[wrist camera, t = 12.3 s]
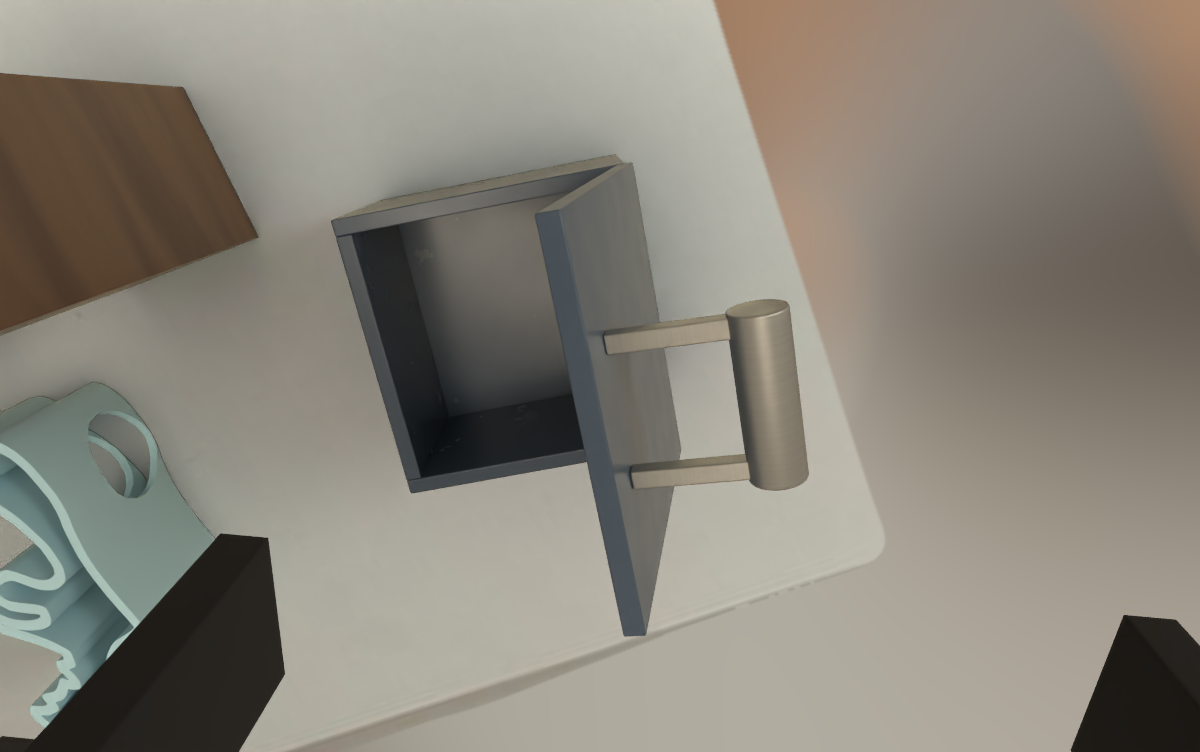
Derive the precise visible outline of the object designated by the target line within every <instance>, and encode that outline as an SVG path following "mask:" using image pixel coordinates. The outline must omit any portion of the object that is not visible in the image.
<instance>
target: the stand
mask: <svg viewBox="0 0 1200 752" xmlns="http://www.w3.org/2000/svg"><path fill="white" fill-rule="evenodd" d="M256 238H258V236H257V234H256V232H255V230H254V228H253V226H252V224H251V222H250V220H249V218H248V216H247V214H246V212H245V210H244V208H243V206H242V204H241V202H240V200H239V198H238V196H237V194H236V192H235V190H234V188H233V186H232V184H231V182H230V180H229V178H228V176H227V174H226V172H225V170H224V168H223V166H222V164H221V162H220V160H219V158H218V156H217V154H216V152H215V150H214V148H213V146H212V144H211V142H210V140H209V138H208V136H207V134H206V132H205V130H204V128H203V126H202V124H201V122H200V120H199V118H198V116H197V114H196V112H195V110H194V108H193V106H192V104H191V102H190V100H189V98H188V96H187V94H186V92H185V90H184V88H183V87H173V86H160V85H147V84H134V83H121V82H108V81H95V80H82V79H69V78H56V77H43V76H30V75H17V74H4V73H0V335H3V334H5V333H8V332H11V331H13V330H16V329H19V328H22V327H24V326H27V325H30V324H32V323H35V322H38V321H40V320H43V319H46V318H49V317H51V316H54V315H57V314H59V313H62V312H65V311H67V310H70V309H73V308H75V307H78V306H81V305H84V304H86V303H89V302H92V301H94V300H97V299H100V298H102V297H105V296H108V295H111V294H113V293H116V292H119V291H121V290H124V289H127V288H129V287H132V286H134V285H137V284H140V283H142V282H145V281H147V280H150V279H153V278H155V277H158V276H160V275H163V274H165V273H168V272H171V271H173V270H176V269H178V268H181V267H183V266H186V265H189V264H191V263H194V262H196V261H199V260H201V259H204V258H207V257H209V256H212V255H214V254H217V253H219V252H222V251H225V250H227V249H230V248H232V247H235V246H238V245H240V244H243V243H245V242H248V241H250V240H253V239H256Z"/></svg>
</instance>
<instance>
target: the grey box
mask: <svg viewBox="0 0 1200 752" xmlns="http://www.w3.org/2000/svg"><path fill="white" fill-rule="evenodd" d="M620 164H623V162H622V161H621V160H620V159H619V158H618V156H617V155H616V154H614V155H609V156H604V157H599V158H594V159H589V160H584V161H578V162H573V163H568V164H563V165H558V166H553V167H548V168H543V169H538V170H533V171H528V172H522V173H517V174H512V175H507V176H502V177H497V178H492V179H487V180H482V181H477V182H471V183H466V184H461V185H456V186H451V187H446V188H441V189H436V190H431V191H426V192H420V193H415V194H410V195H405V196H400V197H395V198H390V199H385V200H381V201H379V202H376V203H374V204H371V205H369V206H366V207H364V208H361V209H359V210H356V211H354V212H351V213H349V214H346V215H344V216H341V217H339V218H336V219H334V220H332V221H331V223H332V226H333V229H334V233H335V236H336V239H337V243H338V246H339V250H340V253H341V257H342V260H343V263H344V267H345V270H346V274H347V277H348V280H349V284H350V287H351V291H352V294H353V298H354V301H355V304H356V308H357V311H358V315H359V318H360V322H361V325H362V328H363V332H364V335H365V339H366V342H367V345H368V349H369V352H370V356H371V359H372V363H373V366H374V369H375V373H376V376H377V380H378V383H379V387H380V390H381V393H382V397H383V400H384V404H385V407H386V410H387V414H388V417H389V421H390V424H391V428H392V431H393V434H394V438H395V441H396V445H397V448H398V452H399V455H400V458H401V462H402V465H403V469H404V472H405V475H406V479H407V482H408V486H409V489H410V492H411V493H417V492H423V491H428V490H434V489H439V488H445V487H450V486H456V485H462V484H467V483H473V482H478V481H484V480H489V479H495V478H501V477H506V476H512V475H517V474H523V473H528V472H534V471H539V470H545V469H551V468H556V467H562V466H567V465H573V464H578V463H584V462H587V460H586V455H585V450H584V445H583V441H582V436H581V431H580V427H579V422H578V417H577V412H576V408H575V403H574V398H573V393H572V389H571V384H570V379H569V375H568V370H567V365H566V360H565V356H564V351H563V346H562V341H561V337H560V332H559V327H558V323H557V318H556V313H555V308H554V304H553V299H552V294H551V289H550V285H549V280H548V275H547V271H546V266H545V261H544V256H543V252H542V247H541V242H540V237H539V233H538V228H537V223H536V219H535V214H536V213H537V212H539V211H541V210H542V209H544V208H546V207H547V206H549V205H551V204H552V203H554V202H556V201H558V200H559V199H561V198H563V197H564V196H566V195H568V194H569V193H571V192H573V191H574V190H576V189H578V188H579V187H581V186H583V185H584V184H586V183H588V182H589V181H591V180H593V179H594V178H596V177H598V176H599V175H601V174H603V173H605V172H606V171H608V170H610V169H611V168H613V167H615V166H616V165H620Z"/></svg>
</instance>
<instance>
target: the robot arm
mask: <svg viewBox="0 0 1200 752" xmlns="http://www.w3.org/2000/svg"><path fill="white" fill-rule="evenodd" d="M284 675H285V671H284V663H283V655H282V646H281V638H280V630H279V622H278V614H277V606H276V598H275V590H274V582H273V574H272V565H271V557H270V549H269V541H268V538H263V537H252V536H241V535H230V534H220V535H219V536H218V537H217V538H216V539H215V540H214V541H213V542H212V543H211V545H210V546H209V547H208V548H207V549H206V550H205V551H204V552H203V553H202V555H201V556H200V557H199V558H198V559H197V560H196V561H195V562H194V563H193V565H192V566H191V567H190V568H189V569H188V570H187V571H186V572H185V573H184V575H183V576H182V577H181V578H180V579H179V580H178V581H177V582H176V583H175V584H174V586H173V587H172V588H171V589H170V590H169V591H168V592H167V593H166V594H165V596H164V597H163V598H162V599H161V600H160V601H159V602H158V603H157V604H156V606H155V607H154V608H153V609H152V610H151V611H150V612H149V613H148V614H147V616H146V617H145V618H144V619H143V620H142V621H141V622H140V623H139V624H138V626H137V627H136V628H135V629H134V630H133V631H132V632H131V633H130V634H129V636H128V637H127V638H126V639H125V640H124V641H123V642H122V643H121V644H120V646H119V647H118V648H117V649H116V650H115V651H114V652H113V653H112V654H111V655H110V657H109V658H108V659H107V660H106V661H105V662H104V663H103V664H102V665H101V667H100V668H99V669H98V670H97V671H96V672H95V673H94V674H93V675H92V677H91V678H90V679H89V680H88V681H87V682H86V683H85V684H84V685H83V687H82V688H81V689H80V690H79V691H78V692H77V693H76V694H75V695H74V697H73V698H72V699H71V700H70V701H69V702H68V703H67V704H66V705H65V707H64V708H63V709H62V710H61V711H60V712H59V713H58V714H57V715H56V716H55V718H54V719H53V720H52V721H51V722H50V723H49V724H48V725H47V726H46V728H45V729H44V730H43V731H42V732H41V733H40V734H39V735H38V736H37V738H36V739H25V738H15V737H5V736H2V737H1V738H0V752H239V750H240V749H241V747H242V745H243V744H244V742H245V740H246V739H247V737H248V735H249V734H250V732H251V730H252V729H253V727H254V725H255V723H256V722H257V720H258V718H259V717H260V715H261V713H262V712H263V710H264V708H265V707H266V705H267V703H268V702H269V700H270V698H271V697H272V695H273V693H274V692H275V690H276V688H277V687H278V685H279V683H280V682H281V680H282V678H283V676H284ZM1071 752H1200V646H1199V645H1198V643H1197V642H1196V641H1195V640H1194V639H1193V638H1192V637H1191V636H1190V635H1189V634H1188V632H1187V631H1186V630H1185V629H1184V628H1183V627H1182V626H1181V625H1180V624H1179V622H1178V621H1177V620H1173V619H1161V618H1151V617H1140V616H1139V617H1138V616H1128V615H1124V616H1123V619H1122V621H1121V624H1120V627H1119V629H1118V631H1117V634H1116V636H1115V639H1114V642H1113V644H1112V647H1111V649H1110V652H1109V654H1108V657H1107V659H1106V662H1105V665H1104V667H1103V669H1102V672H1101V675H1100V677H1099V680H1098V682H1097V685H1096V687H1095V690H1094V692H1093V695H1092V697H1091V700H1090V702H1089V705H1088V708H1087V710H1086V713H1085V715H1084V718H1083V720H1082V723H1081V725H1080V728H1079V730H1078V733H1077V736H1076V738H1075V741H1074V743H1073V746H1072V748H1071Z"/></svg>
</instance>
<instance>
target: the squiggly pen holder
mask: <svg viewBox="0 0 1200 752" xmlns="http://www.w3.org/2000/svg"><path fill="white" fill-rule="evenodd" d="M98 414H113V415H116V416H118V417H121V418H124V419H126V420H127V421H129V422H130V423H131V424H133V425H134V426H136V427H137V428H138V429H139V430H140V431H141V433H142V434H143V435H144V437H145V439H146V441H147V444H148V447H149V450H150V474H149V479H148V482H147V481H146V480H145V478H144V477H143V475H142V474H141V473H140V471H139V470H138V469H137V468H136V467H135V466H134V465H133V464H132V463H131V462H130V461H129V460H128V459H127V458H126V457H125V456H124V455H123V454H122V453H121V452H120V451H119V450H118V449H117V448H115V447H114V446H113V445H112V444H110V443H109V442H108V441H106V440H105V439H103V438H102V437H101V436H99V435H98V434H96V433H94V432H92V431H90V430H88V428H89V424H90V421H91V420H92V419H93V418H94V417H95V416H96V415H98ZM147 436H148V437H147ZM88 441H89V442H92V443H95V444H97V445H99V446H101V447H102V448H104V449H105V450H107V451H109V452H110V453H111V454H112V455H113V456H114V457H115V458H116V459H117V461H118V462H119V463H120V465H121V467H122V469H123V471H124V473H125V477H126V489H125V492H124V495H123V496H122V495H119V494H117V493H116V492H115V490H114V489H113V488H112V487H111V486H110V485H109V483H108V482H107V480H106V479H105V477H104V476H103V474H102V473H101V472H100V469H99V467H98V465H97V464H96V462H95V460H94V459H93V456H92V453H91V450H90V447H89V445H88ZM0 515H1V516H2V517H4V518H5V519H7V520H8V521H9V522H11V523H12V524H13V525H15V526H16V527H17V528H18V529H19V530H21V531H22V532H23V533H24V534H25V535H26V536H27V537H28V538H29V539H30V540H31V541H33V542H34V544H32V545H31V546H30V547H29V548H27V549H26V550H25V551H23V552H22V553H21V554H19V555H18V556H17V557H16V558H14V559H13V560H12V561H10V562H9V563H8V564H6V565H5V566H4V567H3V568H1V569H0V633H1V634H4V635H7V636H11V637H14V638H17V639H21V640H24V641H28V642H31V643H34V644H37V645H40V646H42V647H45V648H47V649H50V650H52V651H54V652H56V653H58V654H60V655H62V657H61V658H60V659H59V660H58V661H57V662H56V666H57V668H58V670H59V671H60V672H61V675H60V676H59V677H58V678H57V679H56V680H55V681H54V682H53V683H52V684H51V685H50V686H49V687H48V688H47V689H46V690H45V691H44V693H43V694H42V695H41V696H40V697H39V698H38V699H37V700H36V701H35V702H34V703H33V704H32V705H31V706H30V712H31V715H32V717H33V718H34V719H35V720H36V721H37V722H38V723H39V724H40V725H41V726H42V727H44V728H46V726H47V725H48V724H49V723H50V722H51V721H52V720H53V719H54V718H55V716H56V715H57V714H58V713H59V712H60V711H61V710H62V709H63V708H64V707H65V705H66V704H67V703H68V702H69V701H70V700H71V699H72V698H73V697H74V695H75V694H76V693H77V692H78V691H79V690H80V689H81V688H82V687H83V685H84V684H85V683H86V682H87V681H88V680H89V679H90V678H91V677H92V675H93V674H94V673H95V672H96V671H97V670H98V669H99V668H100V667H101V665H102V664H103V663H104V662H105V661H106V660H107V659H108V658H109V657H110V655H111V654H112V653H113V652H114V651H115V650H116V649H117V648H118V647H119V646H120V644H121V643H122V642H123V641H124V640H125V639H126V638H127V637H128V636H129V634H130V633H131V632H132V631H133V630H134V629H135V628H136V627H137V626H138V624H139V623H140V622H141V621H142V620H143V619H144V618H145V617H146V616H147V614H148V613H149V612H150V611H151V610H152V609H153V608H154V607H155V606H156V604H157V603H158V602H159V601H160V600H161V599H162V598H163V597H164V596H165V594H166V593H167V592H168V591H169V590H170V589H171V588H172V587H173V586H174V584H175V583H176V582H177V581H178V580H179V579H180V578H181V577H182V576H183V575H184V573H185V572H186V571H187V570H188V569H189V568H190V567H191V566H192V565H193V563H194V562H195V561H196V560H197V559H198V558H199V557H200V556H201V555H202V553H203V552H204V551H205V550H206V549H207V548H208V547H209V546H210V545H211V543H212V542H213V541H214V540H215V539H214V537H213V536H212V535H211V534H210V532H209V531H208V530H207V529H206V527H205V526H204V525H203V524H202V523H201V521H200V520H199V519H198V518H197V516H196V515H195V514H194V512H193V511H192V510H191V508H190V507H189V506H188V504H187V503H186V501H185V500H184V499H183V497H182V496H181V494H180V493H179V491H178V490H177V488H176V486H175V485H174V483H173V481H172V479H171V477H170V475H169V473H168V471H167V469H166V467H165V465H164V462H163V460H162V458H161V455H160V451H159V449H158V446H157V444H156V441H155V440H154V438H153V436H152V434H151V432H150V431H149V429H148V428H147V426H146V425H145V424H144V422H143V421H142V420H141V418H140V417H139V416H138V414H137V413H136V412H135V411H134V409H133V408H132V407H131V406H130V405H129V403H128V402H127V401H125V400H124V399H123V398H122V397H121V396H120V395H119V394H118V393H116V392H115V391H114V390H112V389H111V388H109V387H107V386H105V385H103V384H99V383H94V382H92V383H90V384H88V385H86V386H84V387H82V388H80V389H78V390H77V391H75V392H73V393H71V394H69V395H67V396H65V397H63V398H62V399H60V400H58V401H53V400H51V399H49V398H46V397H33V398H29V399H27V400H25V401H23V402H21V403H19V404H17V405H15V406H13V407H11V408H9V409H7V410H5V411H3V412H1V413H0Z"/></svg>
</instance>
